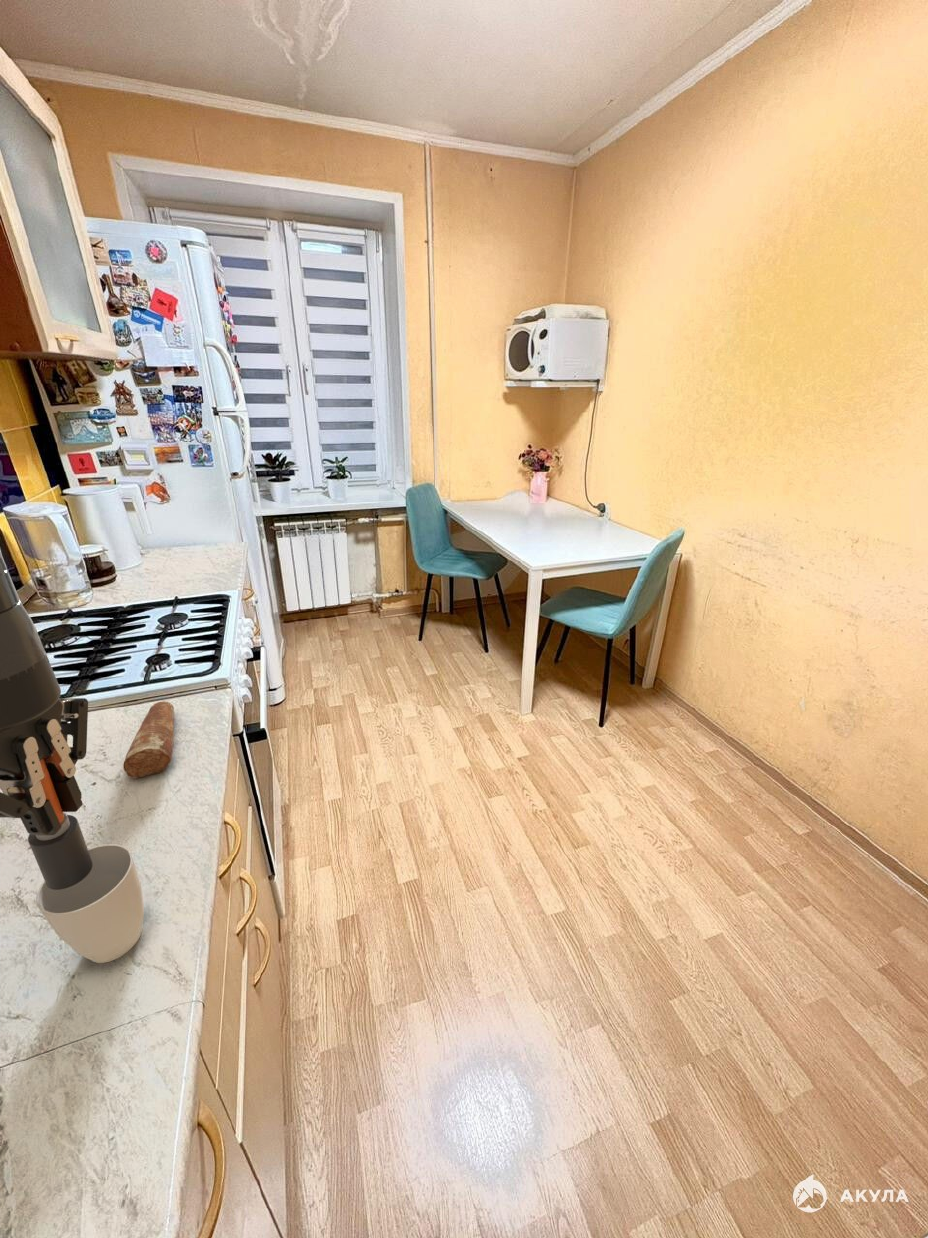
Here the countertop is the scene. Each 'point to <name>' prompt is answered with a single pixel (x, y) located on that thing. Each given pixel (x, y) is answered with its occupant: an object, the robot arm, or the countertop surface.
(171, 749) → the bread
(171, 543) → the countertop surface
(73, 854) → the brush
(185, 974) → the countertop surface
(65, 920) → the cup
